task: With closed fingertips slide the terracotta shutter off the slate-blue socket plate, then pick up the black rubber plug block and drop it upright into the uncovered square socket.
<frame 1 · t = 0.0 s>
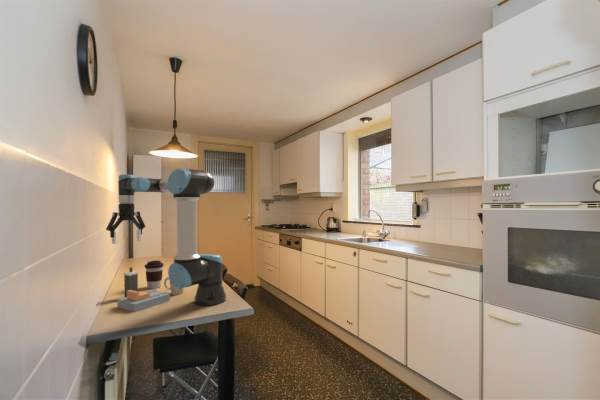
hand: (126, 242, 168), 28 cm above the table, fingers open, 13 cm apart
coffee cup: (154, 287, 180), on the table
mug: (173, 293, 168), on the table
socket plate: (144, 303, 150), on the table
plug: (131, 297, 161), on the table
shutter: (138, 293, 148), point 6 cm above the table, slide at 0.0 cm
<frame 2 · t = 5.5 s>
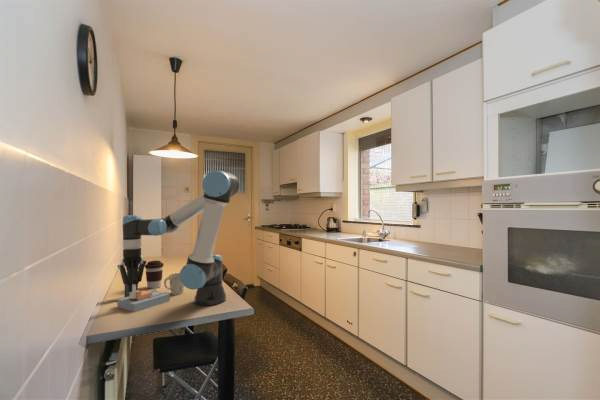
hand: (132, 298, 145), 4 cm above the table, fingers closed
shutter: (141, 293, 149), point 6 cm above the table, slide at 1.3 cm, touching gripper
everything else where it was.
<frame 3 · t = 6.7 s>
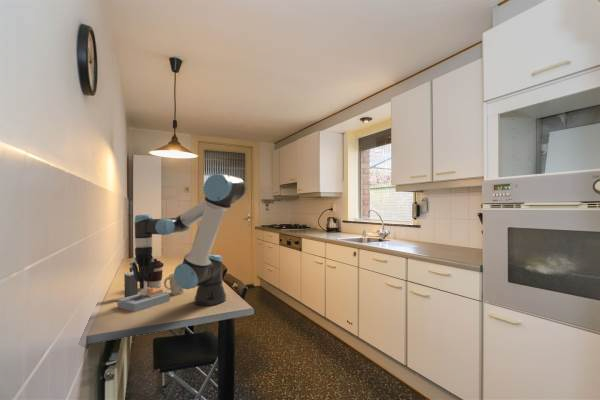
hand: (144, 294, 150), 5 cm above the table, fingers closed
shutter: (151, 290, 154), point 6 cm above the table, slide at 7.1 cm, touching gripper
everything else where it was.
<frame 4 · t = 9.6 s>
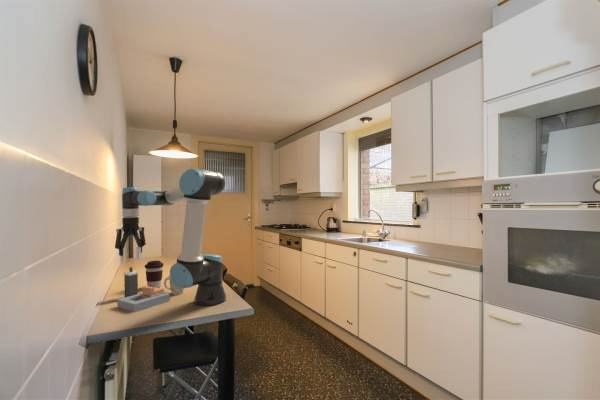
hand: (130, 260, 161), 19 cm above the table, fingers open, 8 cm apart
shutter: (153, 289, 155), point 6 cm above the table, slide at 7.9 cm
everything else where it was.
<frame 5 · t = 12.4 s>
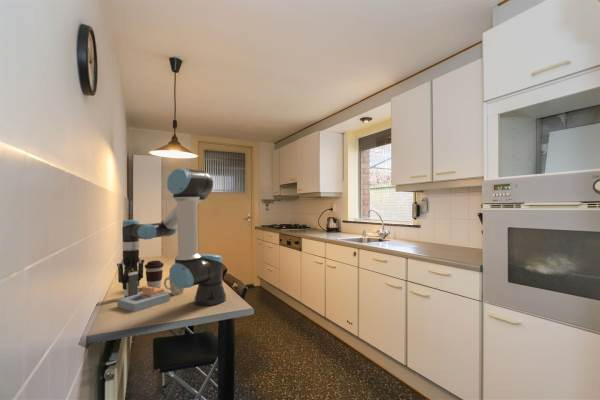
hand: (131, 294, 161), 2 cm above the table, fingers closed on plug, 4 cm apart
plug: (131, 297, 161), on the table, touching gripper
everything else where it was.
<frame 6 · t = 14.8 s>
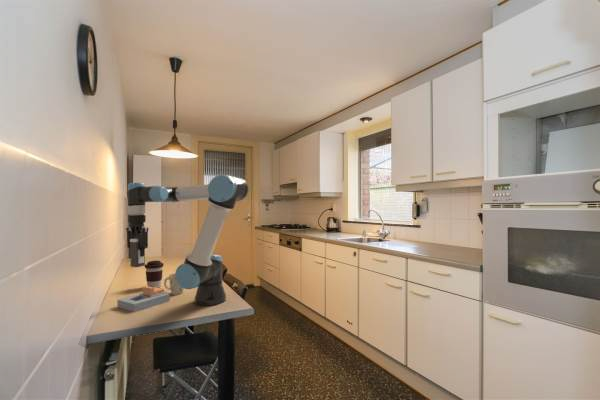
hand: (137, 262, 150), 20 cm above the table, fingers closed on plug, 4 cm apart
plug: (137, 266, 150), point 19 cm above the table, touching gripper
everything else where it was.
when the fingers open (4 cm above the table, at t = 17.5 s): plug drops 2 cm, resting in socket plate.
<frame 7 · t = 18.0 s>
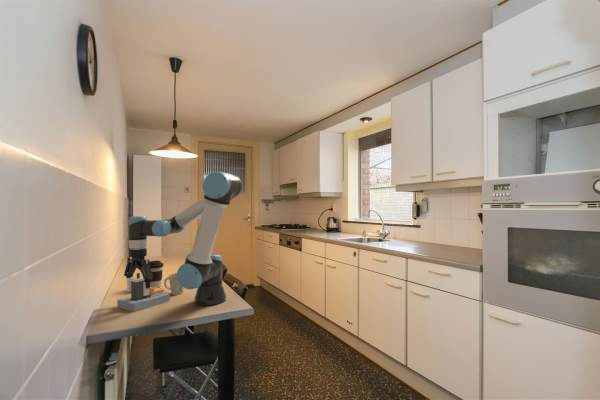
hand: (138, 293, 148), 6 cm above the table, fingers open, 12 cm apart
plug: (138, 305, 148), resting in socket plate
everything else where it was.
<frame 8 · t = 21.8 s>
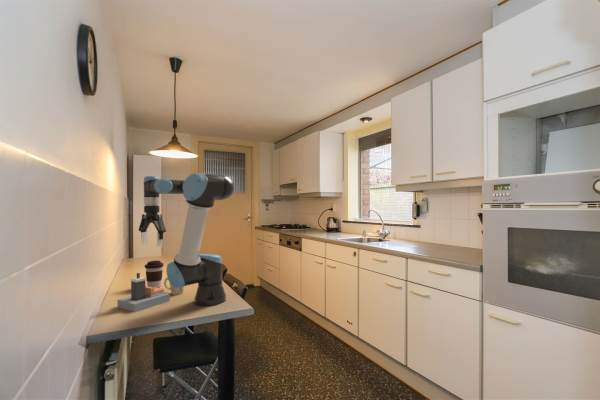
hand: (152, 245, 165), 27 cm above the table, fingers open, 13 cm apart
nothing on the table moved.
at the end: plug 0.0 cm from the target spot, resting in socket plate; plug tilted 0°; shutter slide at 7.9 cm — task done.
